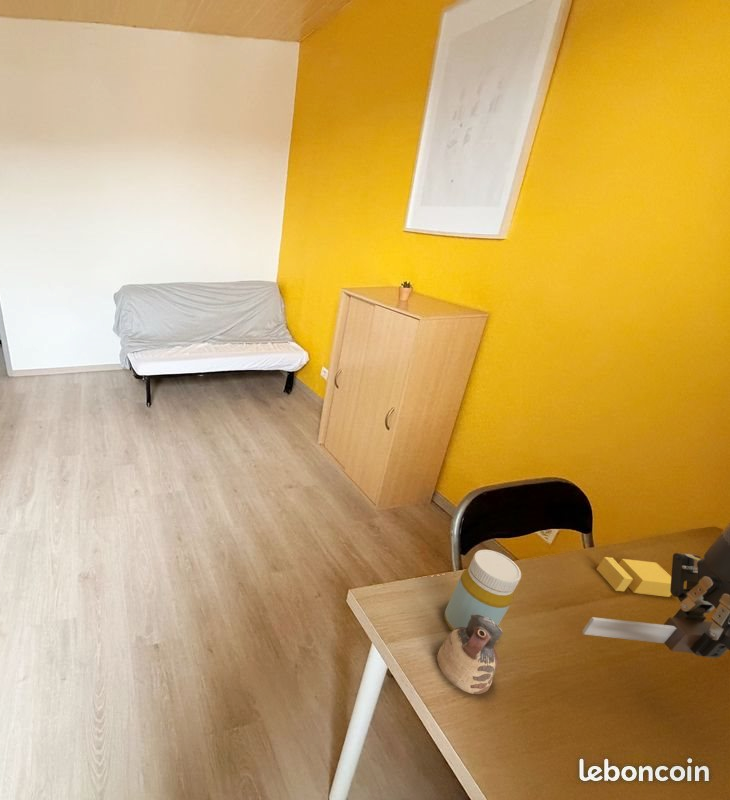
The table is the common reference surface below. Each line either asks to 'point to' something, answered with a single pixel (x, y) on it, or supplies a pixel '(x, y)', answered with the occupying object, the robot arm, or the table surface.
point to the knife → (652, 631)
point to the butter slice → (614, 574)
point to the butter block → (647, 577)
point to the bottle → (483, 589)
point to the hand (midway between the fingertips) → (689, 641)
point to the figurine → (471, 655)
